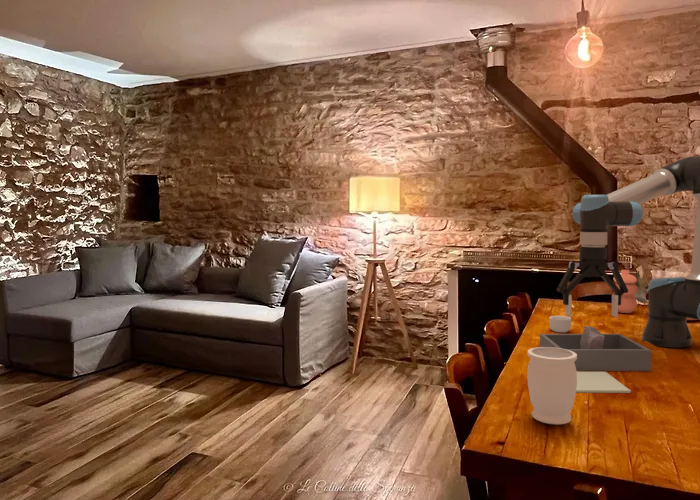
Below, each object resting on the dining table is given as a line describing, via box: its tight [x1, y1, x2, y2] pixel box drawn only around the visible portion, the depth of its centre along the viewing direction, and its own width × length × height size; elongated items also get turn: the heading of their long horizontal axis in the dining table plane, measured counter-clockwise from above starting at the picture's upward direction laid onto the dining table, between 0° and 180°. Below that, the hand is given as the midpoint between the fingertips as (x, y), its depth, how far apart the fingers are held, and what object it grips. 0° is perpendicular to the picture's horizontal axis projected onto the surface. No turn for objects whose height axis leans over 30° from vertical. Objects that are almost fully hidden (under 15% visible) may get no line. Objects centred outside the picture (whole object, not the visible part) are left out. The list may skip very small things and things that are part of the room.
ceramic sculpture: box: [633, 270, 649, 304], centre depth 264 cm, size 11×9×15 cm
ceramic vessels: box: [612, 269, 698, 321], centre depth 235 cm, size 35×21×19 cm, turn 65°
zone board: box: [575, 371, 632, 394], centre depth 146 cm, size 16×16×1 cm
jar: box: [526, 346, 577, 425], centre depth 121 cm, size 11×10×15 cm
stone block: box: [580, 325, 605, 349], centre depth 166 cm, size 12×5×10 cm, turn 168°
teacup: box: [548, 315, 572, 334], centre depth 206 cm, size 10×8×5 cm
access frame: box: [539, 333, 652, 372], centre depth 166 cm, size 25×20×6 cm
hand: (591, 315), depth 165 cm, fingers open, 13 cm apart
